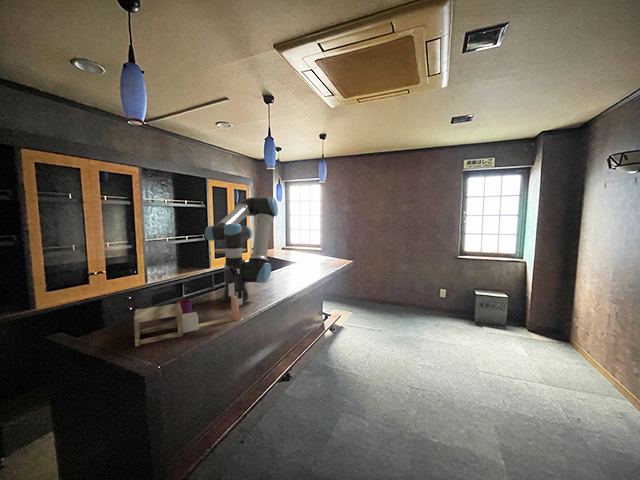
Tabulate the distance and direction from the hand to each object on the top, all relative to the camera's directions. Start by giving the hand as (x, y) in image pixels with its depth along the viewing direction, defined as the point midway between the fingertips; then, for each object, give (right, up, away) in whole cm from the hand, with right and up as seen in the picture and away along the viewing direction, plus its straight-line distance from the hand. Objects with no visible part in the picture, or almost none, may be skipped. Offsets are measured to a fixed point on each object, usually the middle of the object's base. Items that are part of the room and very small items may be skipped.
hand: (235, 300), depth 122 cm
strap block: (-9, -10, -6) cm, 14 cm away
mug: (-28, -9, +3) cm, 29 cm away
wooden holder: (-26, -10, -17) cm, 32 cm away
